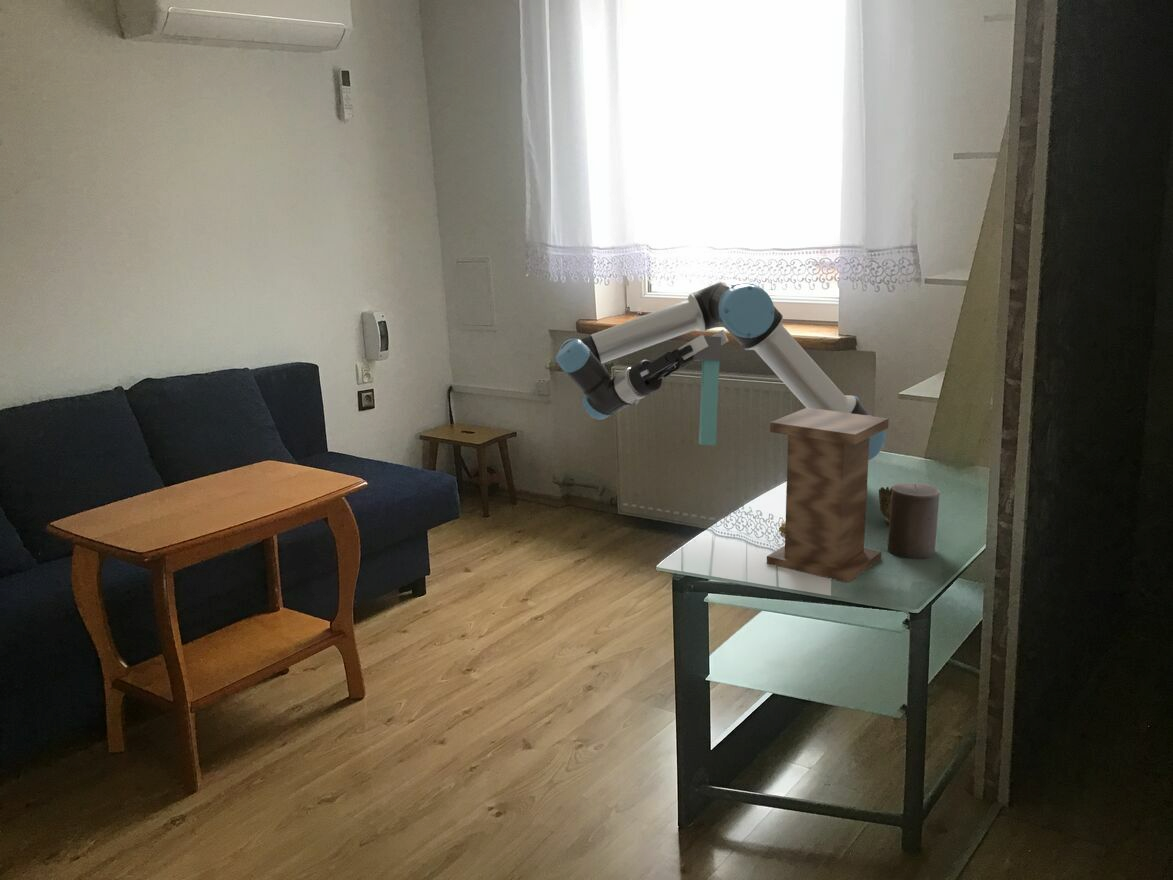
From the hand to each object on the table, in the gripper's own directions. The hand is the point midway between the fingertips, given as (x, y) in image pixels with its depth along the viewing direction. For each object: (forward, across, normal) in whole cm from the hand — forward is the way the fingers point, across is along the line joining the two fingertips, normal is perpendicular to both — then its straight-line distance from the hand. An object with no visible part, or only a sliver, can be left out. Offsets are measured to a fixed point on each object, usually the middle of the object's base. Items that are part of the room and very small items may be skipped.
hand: (715, 338), depth 223 cm
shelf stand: (+1, 0, -52) cm, 52 cm away
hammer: (-5, 0, -10) cm, 11 cm away
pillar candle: (+12, -16, -58) cm, 62 cm away
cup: (+3, -30, -53) cm, 61 cm away
